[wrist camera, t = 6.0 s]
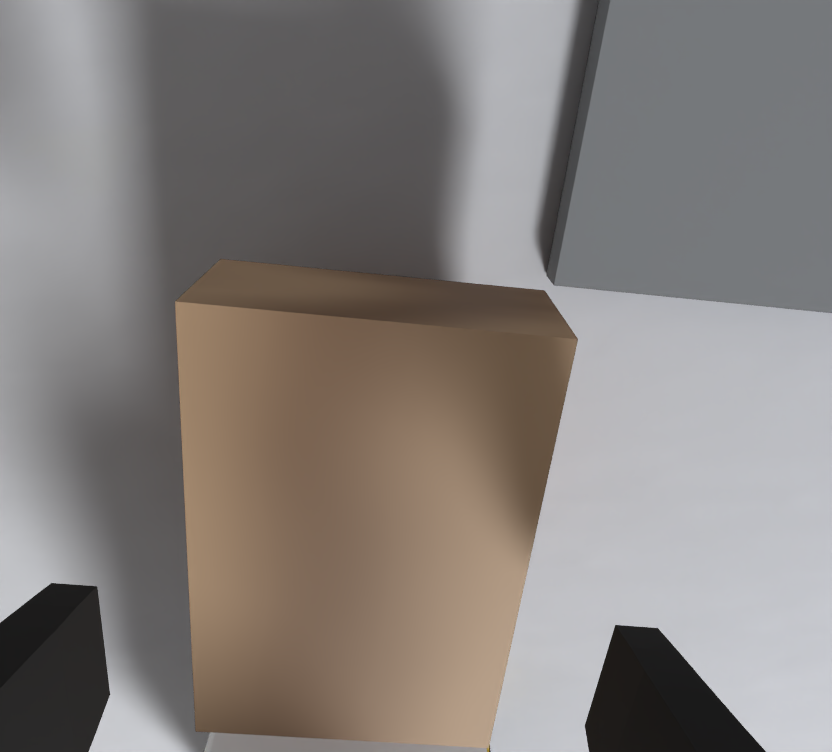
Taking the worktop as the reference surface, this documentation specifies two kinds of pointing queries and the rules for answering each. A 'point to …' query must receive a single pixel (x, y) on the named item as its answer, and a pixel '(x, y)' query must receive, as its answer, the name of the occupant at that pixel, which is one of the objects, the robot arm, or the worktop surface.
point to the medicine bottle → (316, 745)
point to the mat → (703, 154)
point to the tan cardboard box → (361, 496)
